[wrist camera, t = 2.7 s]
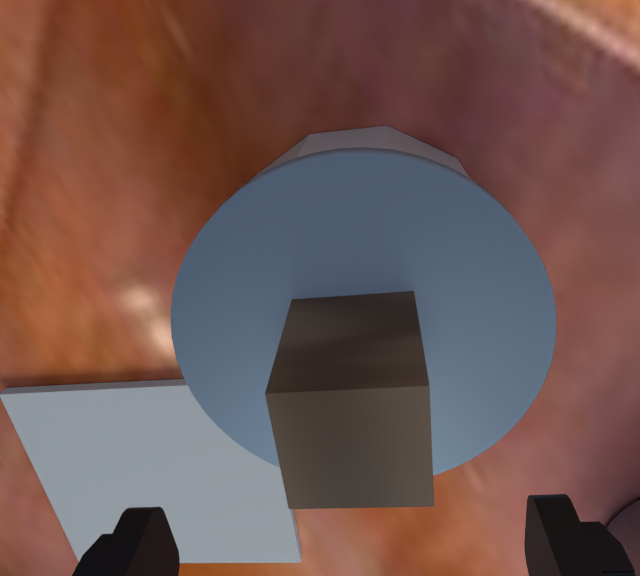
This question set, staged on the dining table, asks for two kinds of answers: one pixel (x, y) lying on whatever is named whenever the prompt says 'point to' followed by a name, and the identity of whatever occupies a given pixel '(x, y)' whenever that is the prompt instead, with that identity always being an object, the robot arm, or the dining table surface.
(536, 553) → the robot arm
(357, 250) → the lid
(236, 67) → the dining table surface
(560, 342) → the dining table surface
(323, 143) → the bowl
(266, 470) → the mat
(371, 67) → the dining table surface
